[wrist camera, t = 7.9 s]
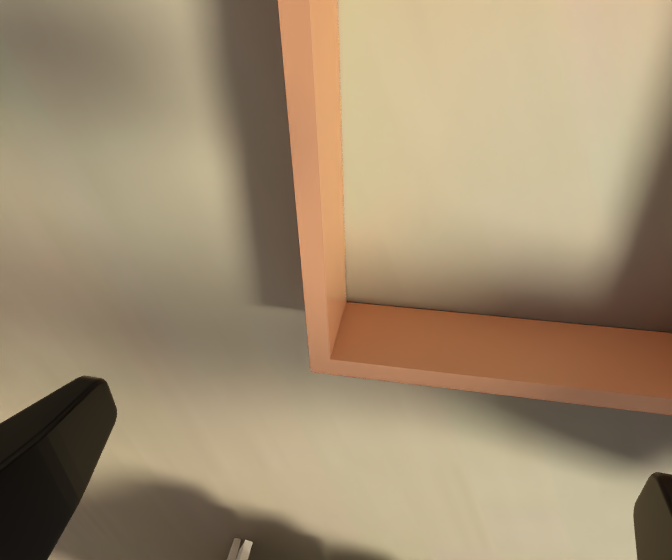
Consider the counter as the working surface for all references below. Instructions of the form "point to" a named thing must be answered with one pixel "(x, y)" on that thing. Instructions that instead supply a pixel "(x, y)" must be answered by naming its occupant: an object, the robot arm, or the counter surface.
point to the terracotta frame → (419, 324)
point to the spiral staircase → (243, 552)
